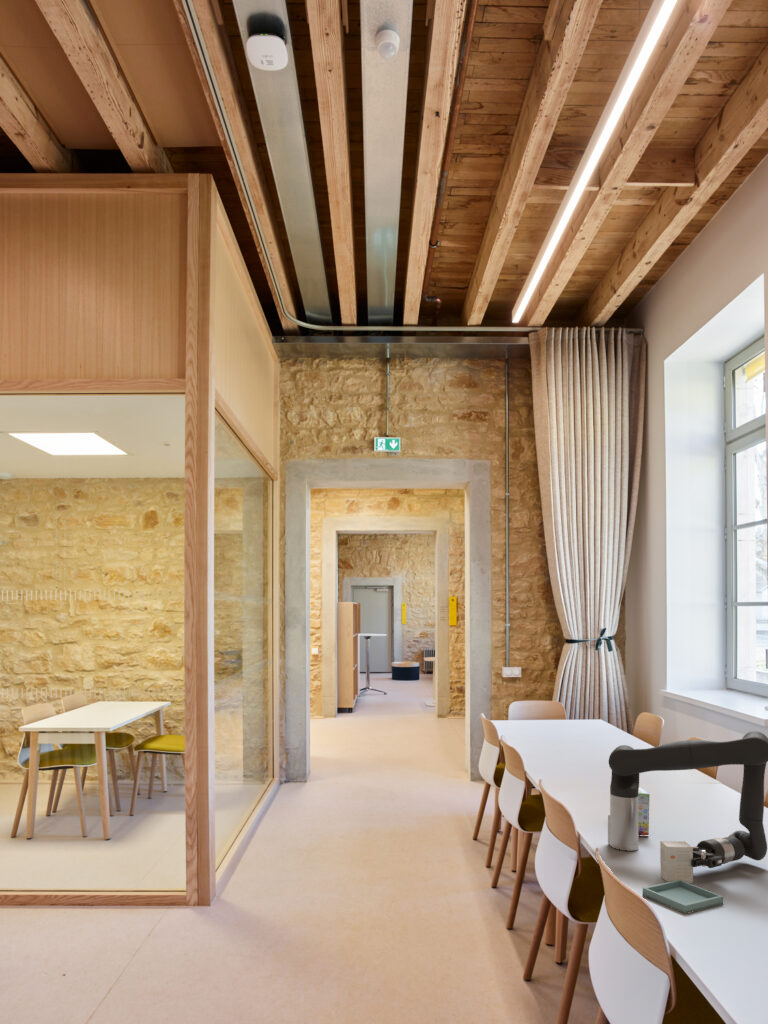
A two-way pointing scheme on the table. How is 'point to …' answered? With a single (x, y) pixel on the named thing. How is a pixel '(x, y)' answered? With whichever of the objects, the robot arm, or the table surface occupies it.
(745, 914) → the table surface
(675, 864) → the small box
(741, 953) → the table surface
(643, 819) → the snack box
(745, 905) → the table surface
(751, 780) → the robot arm
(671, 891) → the tray
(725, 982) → the table surface
